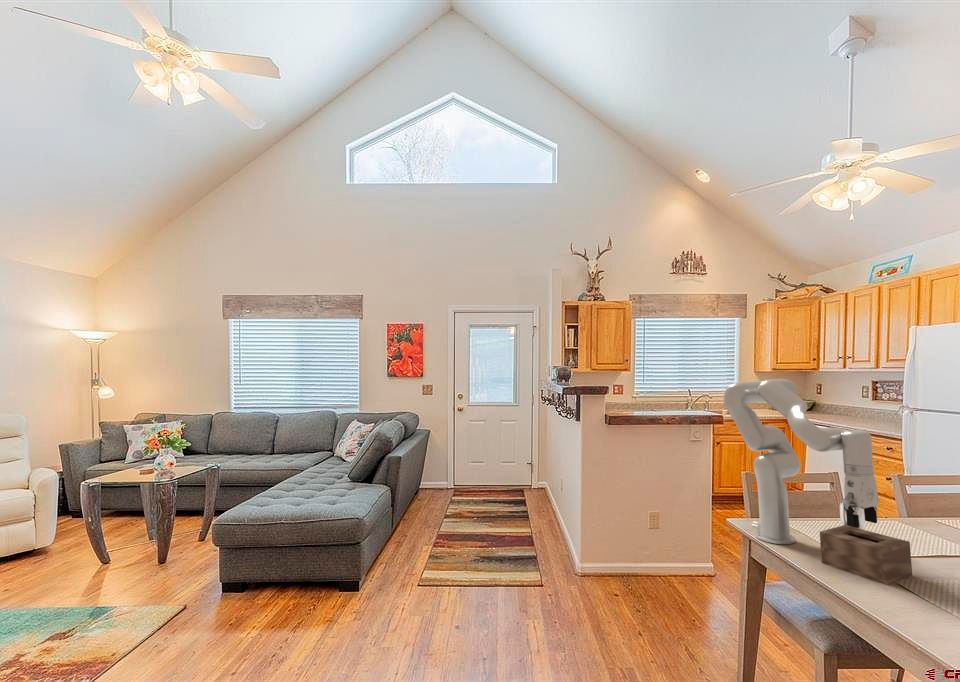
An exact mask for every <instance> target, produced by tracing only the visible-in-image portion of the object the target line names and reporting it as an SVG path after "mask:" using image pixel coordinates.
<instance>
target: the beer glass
mask: <svg viewBox="0 0 960 682" xmlns="http://www.w3.org/2000/svg"><path fill="white" fill-rule="evenodd" d="M852 508H853V510H854V507H852ZM857 515H859V528H858V529H862V530H865V525H866V524H865V523H866V521H865V514H864V509H862V508H860V507H859V510H858V512H857ZM839 518H840V523H841V526H843V525H847V516H846V512H845V509H844V505H843V503H842V501H840V502H839ZM847 526H848V525H847ZM850 527H852V526H850ZM854 528H856V527H854Z"/></svg>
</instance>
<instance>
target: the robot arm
mask: <svg viewBox="0 0 960 682" xmlns="http://www.w3.org/2000/svg"><path fill="white" fill-rule="evenodd" d="M756 403H767V404H769V405H770V406H771V407H772V408H773V409H774V410H776V411H777V412H778V413H779V414H780V415H782V416H783V417H784V419H786V420H787V423H788V426H789V428H790V430H791V432H792V433H793V435H794V436H796V438H798V439H799V440H800V441H801V442H802V443H804V444H805V445H806V446H808V447H809V448H811V449H812V450H813V451H816V452H821V453H822V452H823V453H824V452H825V453H826V452H832V451H833V452H834V451H841V450H842V462H843V473H844V487H843V488H844V498H843V500H841V502H842V503H843V505H844V509H845V512H846V516H847V525H848V526H852V527H856V528H859V515H857V512H858V510H859V507H860V508H862V509H864V515H865V522H868V523H873V524H877V523H878V514H877V510H878V507H877V506H878V505H879V493H878V486H877V481H876V478H875V477H876V476H875V473H874V471H875V470H874V461H873V445H872V444H873V443H872V435H871V433H869V432H868V431H864V430H857V429H853V430H852V429H845V428H841V427H836V426H834V427H824V428H823V427H822V428H820V427H818V426H817V425H815V424H814V423H813V422H812V421H811V420H810V419H808V417H807V416H806V414H805V413H807V410H808V403H807V402H806V401H805V400H803V399H802V398H800V396H798V388H797V386H796V384H795V383H794V382H793V381H791V380H790V379H786V378H771V379H766V380H759V381H739V382H734V383H731V384H730V385H728V386H727V387H726V389H725V390H724V393H723V404H724V407H725V409H726V411H727V412H728V414H729V416H730V417H731V419H732V420H733V422H734V424H735V426H736V428H737V429H738V432H739V434H740V436H741V437H742V440H743V442H744V443H745V446H746V447H747V448H748V449H749V450H751V451H752V452H765V451H767V452H766V453H761V454H759V455H758V456H757V457H756V458H755V459H754V461H753V470H754V474H755V479H756V484H757V495H758V497H757V498H758V500H757V501H758V512H759V513H758V515H759V517H758V518H759V522H758V521H755V520H753V521H752V523H751V528H753V529H757V531H756V532H755V537H756V538H757V539H758V540H760V541H762V542H765V543H771V544H776V545H792V544H795V543H796V538H795V536H794V535H791V530H790V528H791V527H790V513H789V497H788V489H787V486H786V484H785V482H784V480H783V479H784V478H785V479H786V478H790V477H794V476H796V475H798V474H799V472H800V471H801V461H800V459H799V457H798V455H797V453H796V452H795V450H794V448H793V446H792V444H791V443H790V440H789V439H788V437H787V436H786V434H785V433H784V431H782V430H781V429H780V428H779V427H777V426H775V425H763V423H762V422H761V420H760V419H759V417H758V414H757V413H756V412H755V410H754V409H752V408H751V407H750V406H749V405H748V404H756ZM852 507H854V510H853V508H852Z"/></svg>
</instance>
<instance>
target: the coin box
mask: <svg viewBox="0 0 960 682" xmlns="http://www.w3.org/2000/svg"><path fill="white" fill-rule="evenodd" d="M819 543H820V557H821V559H820V561H821V564H824V565H828V566H830V567H833V568H836V569H840V570H842V571H845V572H849V573H851V574H853V575H858V576H860V577H863V578H866V579H869V580H872V581H875V582H878V583H881V584H884V585H890V584H892V583H895V582H897V581H900V580H903V579H905V578H908V577H911V576H913V569H912V568H913V567H912V566H913V565H912V552H911V543H910V541H909V540H904V539H900V538H897V537H892V536H889V535H885V534H881V533H876V532H873V531H869V530H865V529H864V530H862V529H858V528H854V527H850V526H847V525H843V526H842V525H840V526H837V527H832V528H828V529H825V530H821V531H819Z"/></svg>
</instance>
